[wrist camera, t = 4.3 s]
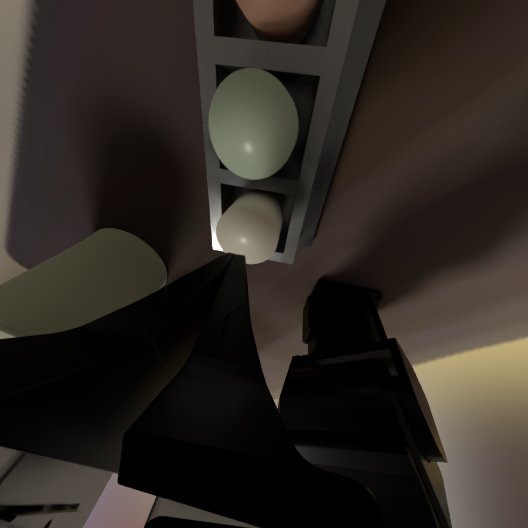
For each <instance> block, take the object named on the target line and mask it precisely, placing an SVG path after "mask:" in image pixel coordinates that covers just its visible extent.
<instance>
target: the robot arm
mask: <svg viewBox="0 0 528 528" xmlns="http://www.w3.org/2000/svg"><path fill="white" fill-rule="evenodd" d="M321 284H323V285H321ZM382 299H383V294H382V292H380V291H377V290H371V289H366V288H361V287H356V286H351V285H346V284H341V283H336V282H331V281H326V280H319V281H317V283H316V285H315V288H314V291H313V293H312V295H310V296H308V298H307V301H306V304H305V306H304V309H303V337H302V341H303V342H304V344H308V355H302V356H299V355H296V356H293V357H292V360H291V363H290V366H289V369H288V372H287V376H286V379H285V382H284V385H283V388H282V391H281V394H280V398H279V402H278V403H279V404H278V409H277V407H276V405H275V402H274V400H273V398H272V396H271V394H270V391H269V389H268V387H267V384H266V381H265V378H264V375H263V371H262V368H261V364H260V360H259V356H258V352H257V348H256V343H255V339H254V335H253V330H252V326H251V319H250V309H249V297H248V283H247V270H246V257H245V255H240V254H237V255H236V254H235V253H230V252H228V253H226V254H224V255H222V256H220V257H218V258H216V259H215V260H213V261H211V262H209V263H207V264H205V265H204V266H202V267H200V268H198V269H196V270H194V271H192V272H191V273H189V274H187V275H185V276H183V277H181V278H180V279H178V280H176V281H174V282H172V283H170V284H168V285H167V286H166V287H163V288H161V289H159V290H157V291H155V292H153V293H152V294H150V295H148V296H146V297H144V298H142V299H140V300H137V301H135V302H133V303H131V304H129V305H127V306H125V307H122V308H120V309H118V310H116V311H113V312H111V313H109V314H107V315H105V316H102V317H100V318H98V319H96V320H93V321H91V322H89V323H87V324H84V325H82V326H79V327H76V328H73V329H70V330H66V331H61V332H56V333H49V334H40V335H31V336H22V337H14V338H5V339H0V528H83V526H84V524H85V523H86V521H87V519H88V517H89V515H90V514H91V512H92V510H93V508H94V506H95V505H96V503H97V501H98V499H99V497H100V496H101V494H102V492H103V490H104V488H105V487H106V485H107V483H108V481H109V479H110V477H111V476H112V474H113V473H117V474H118V484H119V485H123V486H126V487H129V488H132V489H136V490H139V491H142V492H145V493H149V494H152V495H155V496H156V499H155V501H154V504H153V506H152V509H151V511H150V514H149V516H148V518H147V521H146V524H145V526H144V528H452V525H451V519H450V514H449V509H448V504H447V499H446V493H445V488H444V482H443V478H442V475H441V472H440V469H439V467H438V465H437V462H445V463H447V459H446V455H445V452H444V449H443V446H442V443H441V440H440V437H439V434H438V431H437V428H436V425H435V422H434V419H433V416H432V413H431V410H430V407H429V404H428V401H427V399H426V397H425V394H424V392H423V390H422V387H421V385H420V383H419V381H418V378H417V376H416V374H415V372H414V370H413V367H412V366H411V364H410V362H409V360H408V359H407V357H406V355H405V354H404V352H403V350H402V348H401V347H400V345H399V343H398V342H397V340H396V338H390V339H388V338H387V336H386V333H385V330H384V328H383V325H382V322H381V320H380V317H379V314H378V311H377V309H376V307H377V306H378V304H379V303H380V302H381V300H382Z"/></svg>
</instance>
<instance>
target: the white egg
mask: <svg viewBox="0 0 528 528" xmlns="http://www.w3.org/2000/svg"><path fill="white" fill-rule="evenodd" d="M283 218H284V212H283V207H282V205H281V203H280V201H279V200H278V198H277V197H276V196H275V195H274V194H272V193H271V192H269V191H265V190H259V189H249V190H247V191H245V192H243V193H242V194H241V195H240V196H239V197H238V198H237V199H236V200H235V202H234V203H233V204H232V205H231V206H230V207H229V208H228V209H227V211H226V212H225V213H224V214H223V215H222V216H221V217H220V219H219V221H218V223H217V226H216V237H217V241H218V243H219V245H220V247H221V248H222V250H223V251H224V252H225V253H228V252H230V253H235V254H236V255H237V254H240V255H245V257H246V264H257V263H261V262H264V261H266V260H267V259H269V258H270V257H271V256H272V255H273V254H274V252H275V250H276V248H277V244H278V239H279V235H280V231H281V227H282V222H283Z"/></svg>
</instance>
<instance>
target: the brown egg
mask: <svg viewBox="0 0 528 528" xmlns="http://www.w3.org/2000/svg"><path fill="white" fill-rule="evenodd" d="M236 1H237V3H238V5H239V7H240V8H241V10H242V12H243V13H244V15H245V17H246V18H247V20H248V22H249V23H250V25H251V27H252V29H253V30H254V32H255V33H256V35H257V37H258V38H259V39H260V40H261V41H270V42H280V43H290V44H298V43H299V42H301V41H302V40H303V39H304V38H305V37H306V35H307V34H308V33H309V31H310V30H311V28H312V27H313V25H314V23H315V21H316V19H317V17H318V14H319V12H320V9H321V6H322V2H323V0H236Z"/></svg>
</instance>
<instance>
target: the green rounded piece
mask: <svg viewBox="0 0 528 528" xmlns="http://www.w3.org/2000/svg"><path fill="white" fill-rule="evenodd" d="M209 133H210V137H211V141H212V144H213V147H214V149H215V152H216V154H217V155H218V157H219V159H220V160H221V161H222V163H223V164H224V165H225V166H226V167H227V168H228V169H229V170H230V171H232V172H233V173H234V174H236V175H238V176H240V177H243V178H246V179H253V180H256V179H263V178H266V177H269V176H271V175H273V174H274V173H276V172H277V171H278V170H279V169H280V168H282V166H283V165H284V164H285V163H286V161H287V160H288V158H289V156H290V154H291V152H292V150H293V148H294V146H295V144H296V141H297V138H298V134H299V115H298V110H297V107H296V105H295V103H294V101H293V99H292V97H291V96H290V94H289V93H288V91H287V90H286V88H285V87H284V86H283V84H282V83H281V82H280V81H279V80H278V79H277V78H276V77H274V76H273V75H272V74H270V73H268V72H266V71H264V70H261V69H257V68H245V69H240V70H238V71H235V72H233V73H232V74H230V75H229V76H228V77H226V78H225V79H224V80H223V81H222V83H221V84H220V85H219V87H218V88H217V90H216V92H215V94H214V96H213V99H212V102H211V105H210V110H209Z"/></svg>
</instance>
